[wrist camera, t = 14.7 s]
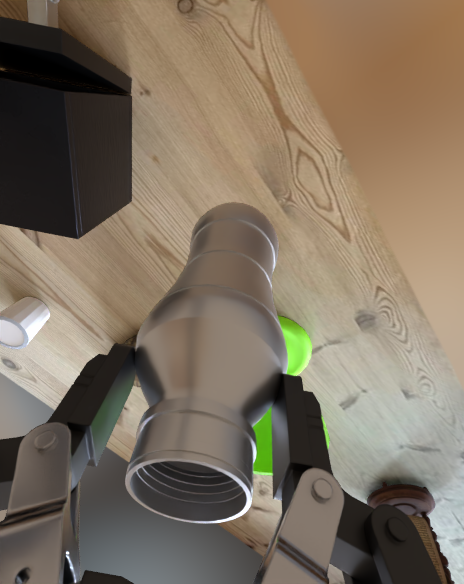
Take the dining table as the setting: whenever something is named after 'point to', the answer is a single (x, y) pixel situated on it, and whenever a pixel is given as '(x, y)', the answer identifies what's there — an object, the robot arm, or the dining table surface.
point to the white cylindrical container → (22, 322)
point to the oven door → (54, 50)
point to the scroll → (415, 518)
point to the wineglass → (297, 361)
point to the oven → (62, 155)
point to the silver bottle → (209, 372)
